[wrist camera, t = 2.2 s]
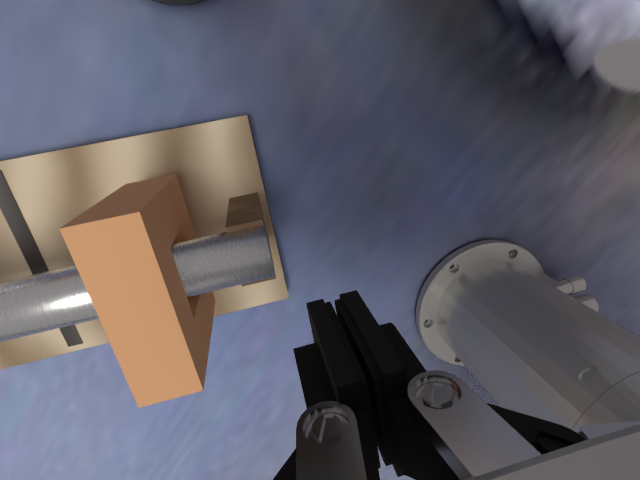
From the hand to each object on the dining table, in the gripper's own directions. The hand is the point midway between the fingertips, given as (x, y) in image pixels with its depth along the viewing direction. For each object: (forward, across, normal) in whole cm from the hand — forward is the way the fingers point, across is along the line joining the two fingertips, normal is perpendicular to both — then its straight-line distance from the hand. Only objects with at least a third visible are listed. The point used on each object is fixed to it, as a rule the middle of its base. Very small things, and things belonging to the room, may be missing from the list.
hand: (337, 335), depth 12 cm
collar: (+14, +7, 0) cm, 16 cm away
